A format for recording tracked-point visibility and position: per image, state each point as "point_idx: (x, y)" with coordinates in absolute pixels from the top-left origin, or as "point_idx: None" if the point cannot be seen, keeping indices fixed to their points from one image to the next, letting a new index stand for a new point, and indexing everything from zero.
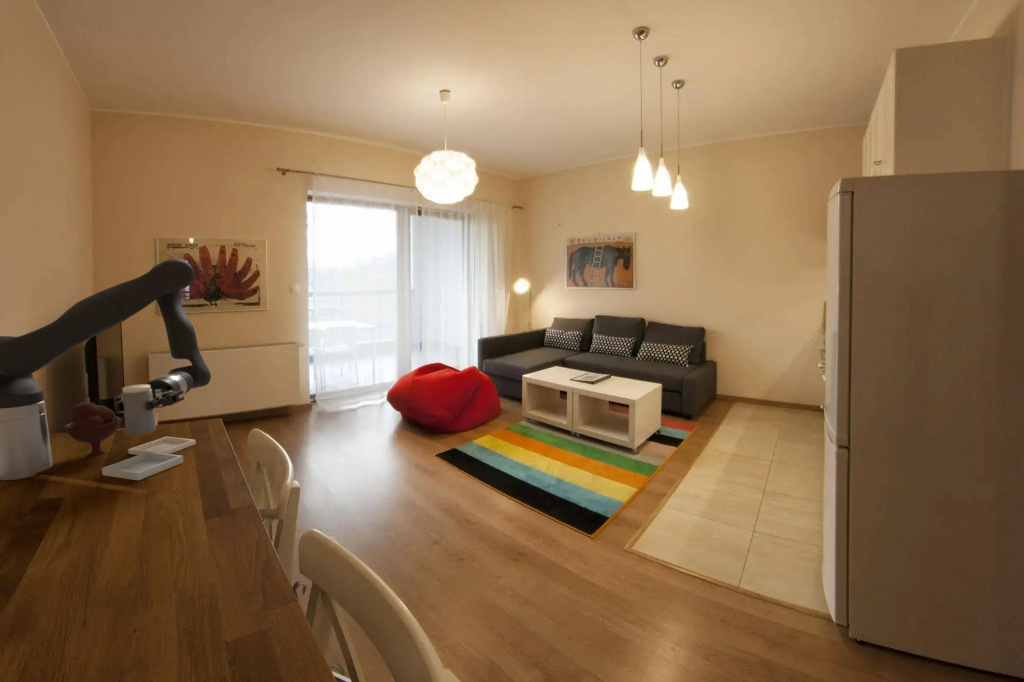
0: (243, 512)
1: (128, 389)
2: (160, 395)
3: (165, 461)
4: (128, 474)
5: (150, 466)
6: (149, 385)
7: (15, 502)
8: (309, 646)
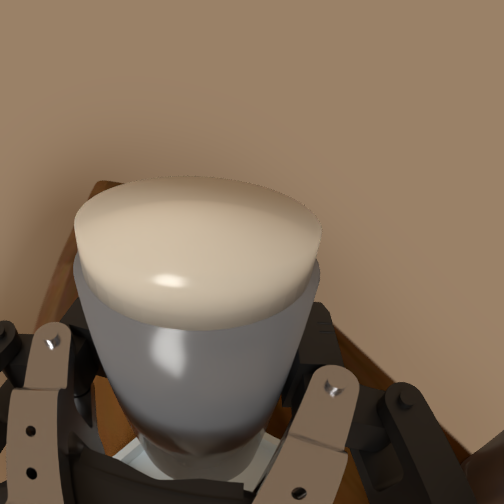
0: (67, 254)
1: (232, 180)
2: (36, 368)
3: (139, 442)
4: None
5: None
6: (86, 208)
7: (382, 378)
8: (96, 183)
